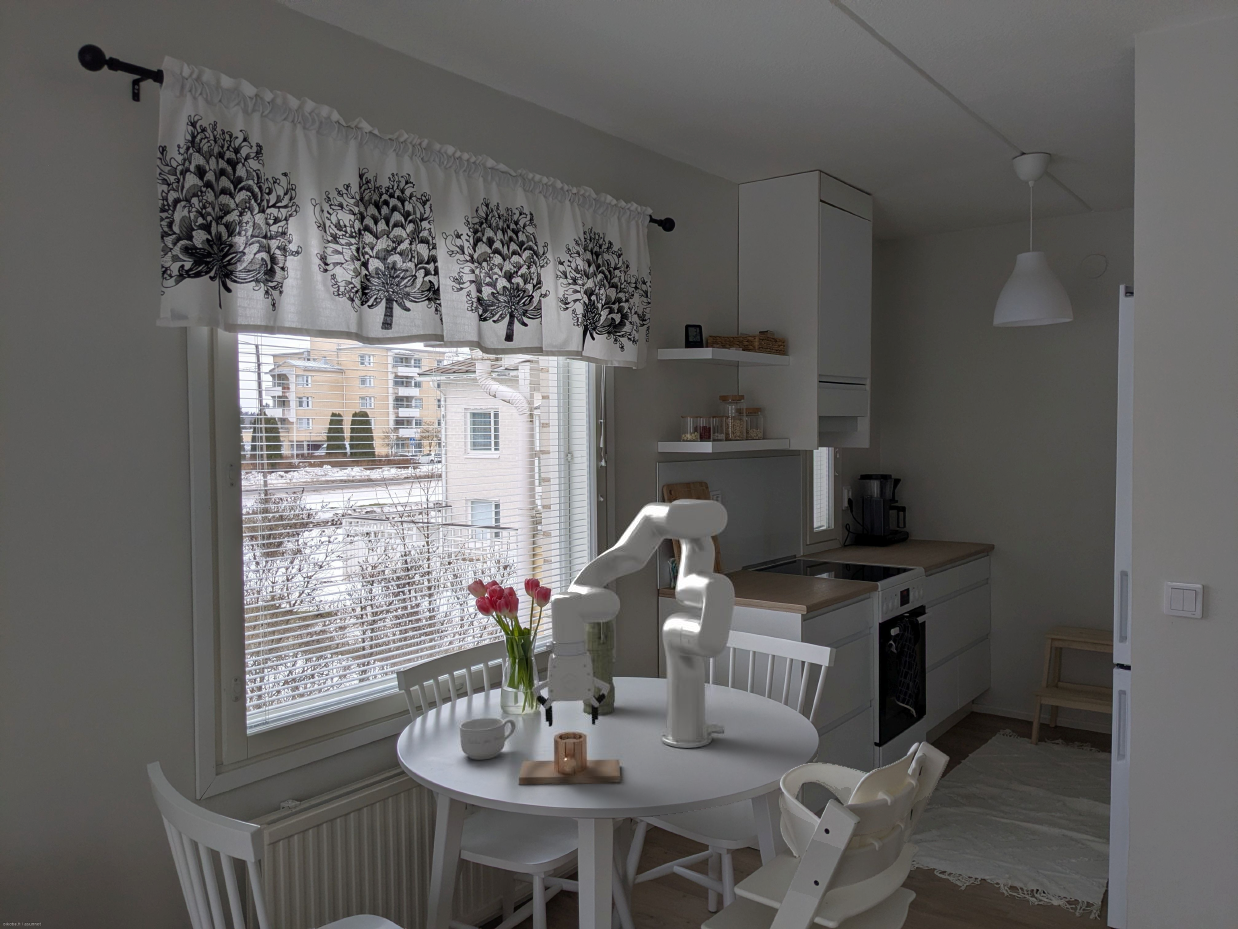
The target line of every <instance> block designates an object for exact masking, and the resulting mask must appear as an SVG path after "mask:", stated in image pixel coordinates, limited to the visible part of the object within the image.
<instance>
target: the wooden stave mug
mask: <svg viewBox="0 0 1238 929" xmlns="http://www.w3.org/2000/svg"><path fill="white" fill-rule="evenodd" d="M565 739H576V740H574V741H565ZM587 742H588V741H587V734H585V732H579V731H565V732H563V731H562V732H560V733H557V734H555V735H554V737H553V761H554V770H555V771H557V772H559V773H562V774H577V773H581V772H583V771H585V770H586V769H587V760H588V759H587V758H588V751H587V750H588V749H587V747H588V745H587Z"/></svg>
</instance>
